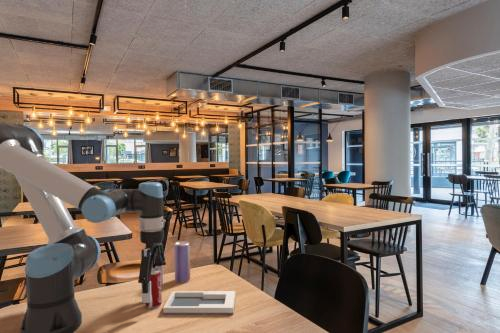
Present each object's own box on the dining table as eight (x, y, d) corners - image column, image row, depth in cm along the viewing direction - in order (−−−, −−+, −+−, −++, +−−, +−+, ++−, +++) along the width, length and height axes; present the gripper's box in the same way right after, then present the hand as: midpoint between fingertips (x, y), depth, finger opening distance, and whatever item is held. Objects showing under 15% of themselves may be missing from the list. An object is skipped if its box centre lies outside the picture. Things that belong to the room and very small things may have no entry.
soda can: (156, 310, 103) (156, 273, 102) (142, 308, 104) (141, 272, 103) (164, 302, 108) (163, 267, 107) (150, 301, 109) (149, 266, 108)
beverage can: (182, 284, 122) (182, 246, 122) (171, 281, 126) (171, 243, 125) (193, 279, 127) (192, 242, 127) (182, 276, 131) (182, 240, 130)
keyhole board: (163, 314, 100) (163, 307, 100) (173, 297, 112) (172, 291, 112) (233, 314, 99) (233, 307, 99) (235, 297, 111) (235, 291, 111)
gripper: (151, 239, 92) (152, 311, 93) (172, 221, 117) (174, 277, 118) (125, 239, 92) (127, 311, 93) (152, 221, 117) (154, 278, 118)
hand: (153, 292), depth 106 cm, fingers open, 13 cm apart
